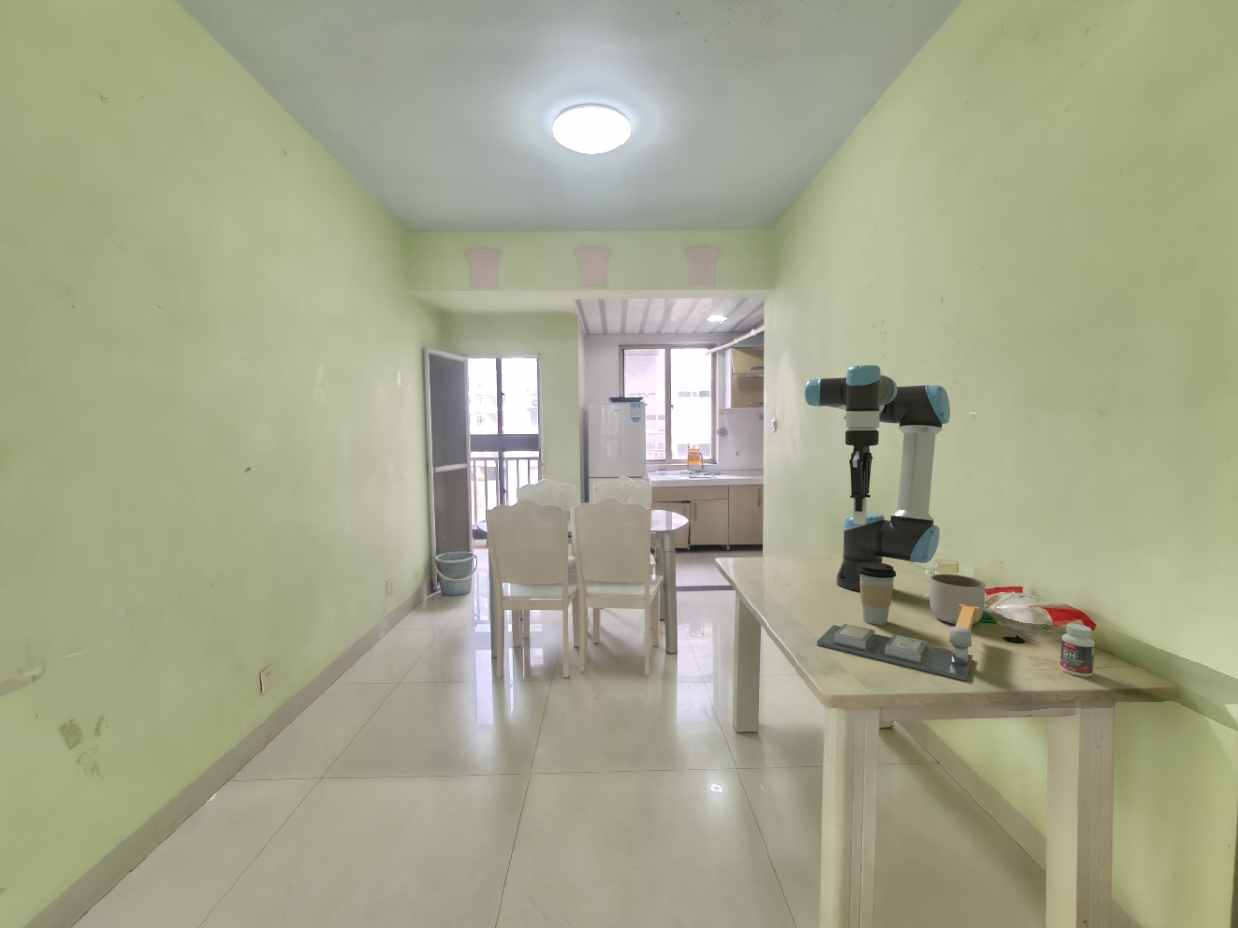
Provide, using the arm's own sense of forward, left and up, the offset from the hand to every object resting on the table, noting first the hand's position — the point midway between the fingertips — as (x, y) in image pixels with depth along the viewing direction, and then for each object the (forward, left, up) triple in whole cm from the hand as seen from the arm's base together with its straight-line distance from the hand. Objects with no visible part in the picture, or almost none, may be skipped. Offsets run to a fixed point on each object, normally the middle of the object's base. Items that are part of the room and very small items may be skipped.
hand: (859, 523), depth 136 cm
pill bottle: (-5, +43, -28) cm, 51 cm away
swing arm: (-2, +23, -22) cm, 32 cm away
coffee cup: (-11, +2, -28) cm, 30 cm away
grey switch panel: (+8, +10, -27) cm, 30 cm away
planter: (-25, +19, -28) cm, 42 cm away
